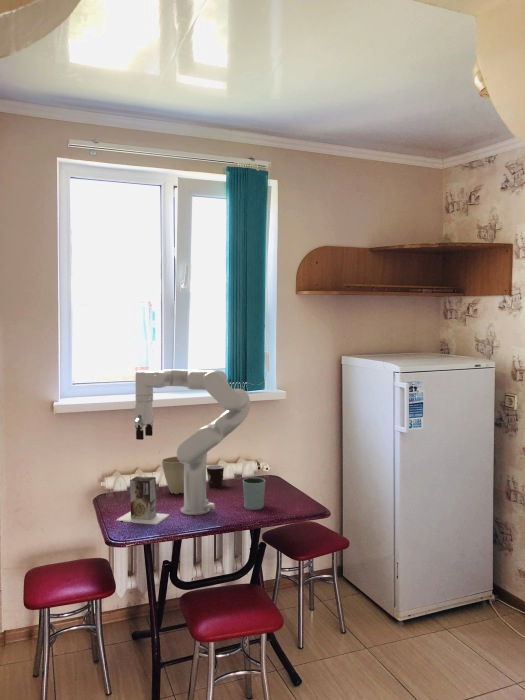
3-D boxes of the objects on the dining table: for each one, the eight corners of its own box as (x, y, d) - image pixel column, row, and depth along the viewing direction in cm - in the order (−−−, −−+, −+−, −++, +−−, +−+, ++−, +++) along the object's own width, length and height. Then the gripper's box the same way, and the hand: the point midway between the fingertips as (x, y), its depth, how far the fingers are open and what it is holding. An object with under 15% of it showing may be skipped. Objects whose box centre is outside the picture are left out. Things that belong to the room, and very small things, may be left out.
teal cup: (249, 502, 261) (249, 476, 260) (269, 505, 256) (269, 478, 256) (238, 508, 252) (238, 481, 251) (259, 511, 247) (259, 483, 247)
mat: (169, 515, 242) (169, 514, 242) (156, 524, 231) (156, 523, 231) (130, 512, 247) (130, 511, 247) (116, 521, 236) (116, 519, 236)
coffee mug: (206, 484, 292) (206, 465, 292) (223, 484, 293) (223, 464, 293) (207, 491, 280) (206, 470, 280) (224, 490, 281) (224, 470, 281)
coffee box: (156, 515, 241) (156, 476, 241) (150, 520, 235) (150, 480, 234) (136, 513, 243) (136, 475, 243) (130, 518, 237) (129, 479, 236)
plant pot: (185, 486, 289) (185, 454, 289) (198, 493, 277) (197, 460, 276) (157, 490, 282) (157, 458, 281) (169, 497, 269) (168, 464, 269)
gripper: (144, 396, 261) (144, 433, 262) (127, 400, 245) (127, 440, 245) (159, 396, 260) (160, 434, 260) (144, 401, 243) (144, 441, 243)
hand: (144, 437), depth 253 cm, fingers open, 9 cm apart
